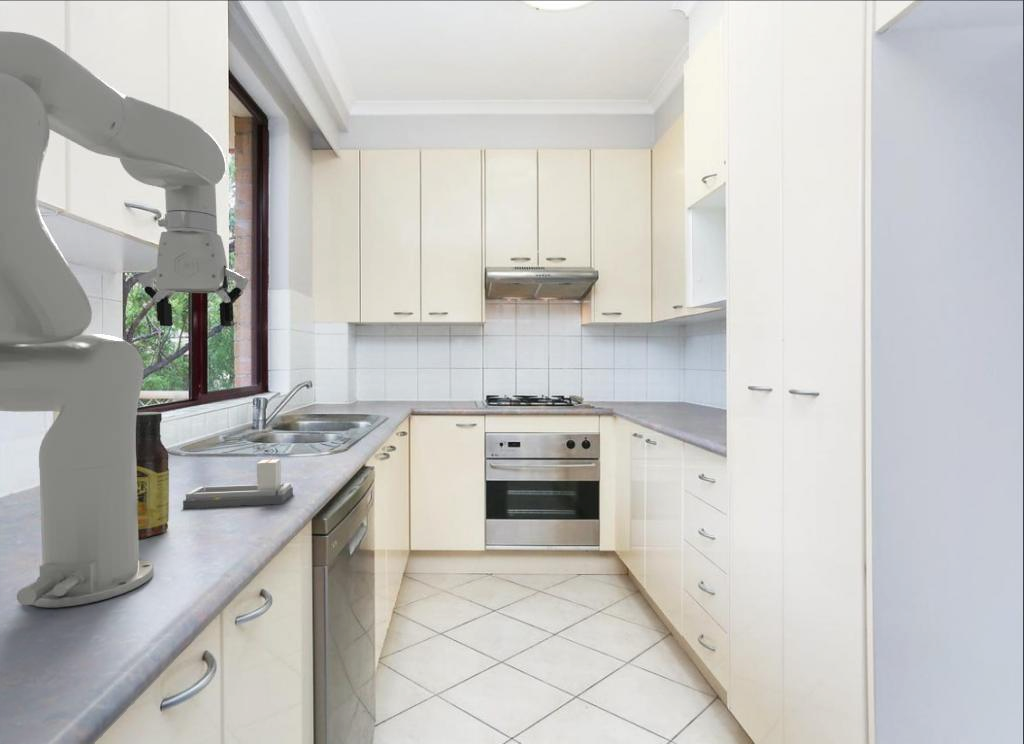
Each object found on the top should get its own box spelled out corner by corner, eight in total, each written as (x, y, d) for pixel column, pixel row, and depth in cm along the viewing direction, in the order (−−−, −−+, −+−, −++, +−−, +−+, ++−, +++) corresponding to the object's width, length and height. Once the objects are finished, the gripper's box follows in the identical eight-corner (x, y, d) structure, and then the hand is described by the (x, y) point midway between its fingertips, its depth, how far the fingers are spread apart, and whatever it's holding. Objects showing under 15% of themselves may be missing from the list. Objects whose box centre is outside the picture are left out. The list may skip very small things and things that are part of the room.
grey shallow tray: (282, 504, 105) (282, 491, 105) (183, 508, 102) (182, 495, 102) (292, 493, 113) (292, 482, 113) (201, 497, 110) (200, 485, 110)
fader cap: (276, 492, 107) (275, 462, 107) (257, 493, 106) (256, 462, 106) (281, 488, 110) (280, 458, 110) (263, 489, 110) (262, 459, 110)
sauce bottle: (113, 537, 86) (110, 413, 85) (152, 526, 92) (149, 410, 91) (141, 542, 84) (138, 415, 83) (179, 530, 89) (176, 411, 89)
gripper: (125, 220, 88) (130, 325, 89) (238, 223, 90) (241, 325, 92) (148, 229, 95) (152, 326, 96) (252, 232, 98) (255, 326, 99)
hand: (196, 325), depth 94 cm, fingers open, 9 cm apart
